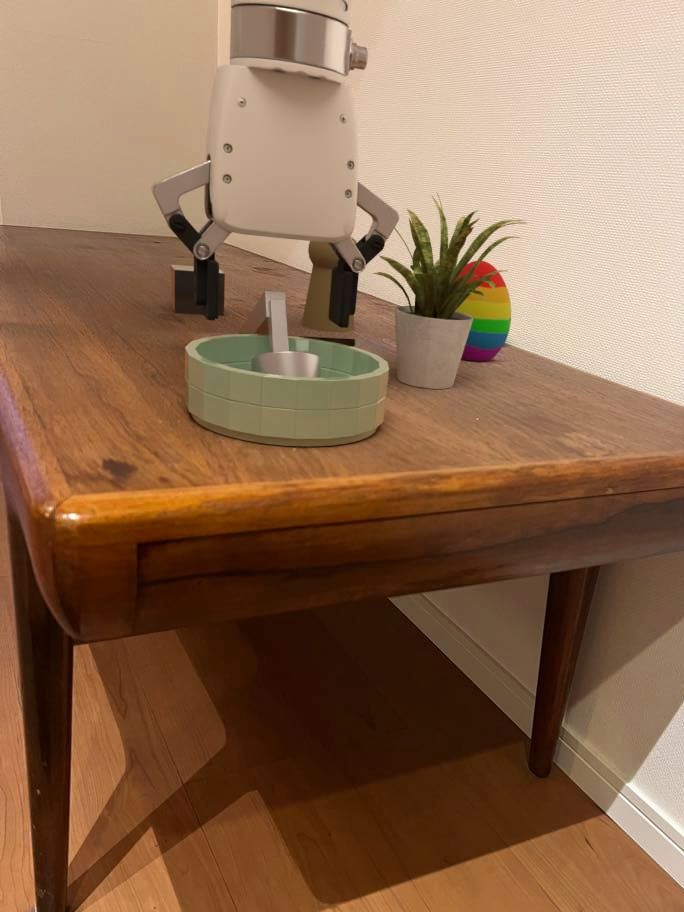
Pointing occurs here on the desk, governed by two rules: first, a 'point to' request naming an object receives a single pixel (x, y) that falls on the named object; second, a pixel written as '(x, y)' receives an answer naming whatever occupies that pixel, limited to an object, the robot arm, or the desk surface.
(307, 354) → the silver stamp handle
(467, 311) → the decorative egg
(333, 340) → the cork
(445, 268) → the house plant
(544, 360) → the desk surface
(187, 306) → the dark wooden cube
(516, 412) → the desk surface
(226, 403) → the bowl
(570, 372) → the desk surface
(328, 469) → the desk surface
